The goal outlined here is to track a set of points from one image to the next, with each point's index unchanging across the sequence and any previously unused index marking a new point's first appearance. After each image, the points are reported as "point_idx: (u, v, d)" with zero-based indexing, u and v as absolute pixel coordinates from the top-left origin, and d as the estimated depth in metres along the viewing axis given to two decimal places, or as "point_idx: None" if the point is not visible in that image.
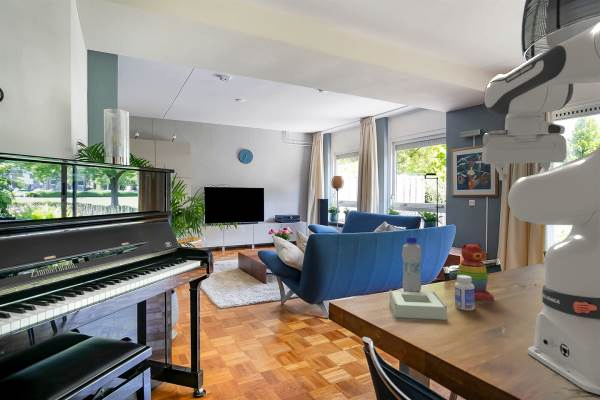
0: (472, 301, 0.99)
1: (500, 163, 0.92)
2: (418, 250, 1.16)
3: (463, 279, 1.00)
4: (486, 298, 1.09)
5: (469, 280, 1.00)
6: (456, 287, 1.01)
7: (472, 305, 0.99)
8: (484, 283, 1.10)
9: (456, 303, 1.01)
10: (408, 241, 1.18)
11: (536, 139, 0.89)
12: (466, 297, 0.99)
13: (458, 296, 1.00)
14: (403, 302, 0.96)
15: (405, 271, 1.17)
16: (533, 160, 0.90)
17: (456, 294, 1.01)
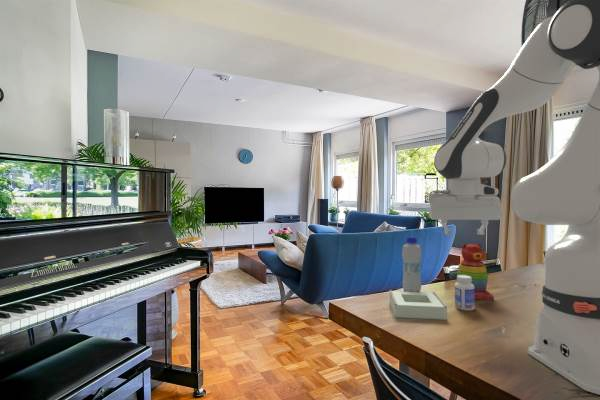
0: (472, 301, 0.99)
1: (444, 219, 1.01)
2: (418, 250, 1.16)
3: (463, 279, 1.00)
4: (486, 298, 1.09)
5: (469, 280, 1.00)
6: (456, 287, 1.01)
7: (472, 305, 0.99)
8: (484, 283, 1.10)
9: (456, 303, 1.01)
10: (408, 241, 1.18)
11: (474, 199, 0.99)
12: (466, 297, 0.99)
13: (458, 296, 1.00)
14: (403, 302, 0.96)
15: (405, 271, 1.17)
16: (473, 217, 0.99)
17: (456, 294, 1.01)
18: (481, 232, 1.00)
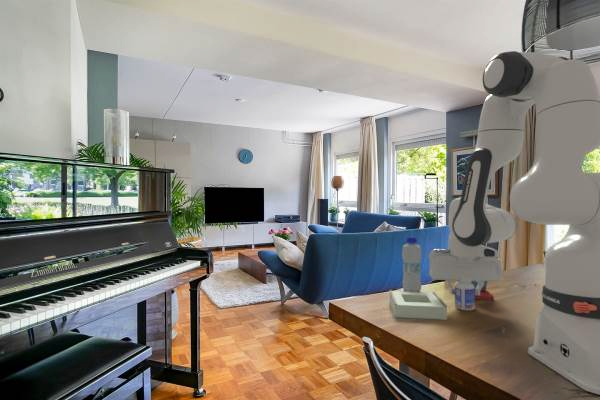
0: (472, 301, 0.99)
1: (444, 279, 1.01)
2: (418, 250, 1.16)
3: (463, 279, 1.00)
4: (486, 298, 1.09)
5: (469, 280, 1.00)
6: (456, 287, 1.01)
7: (472, 305, 0.99)
8: (484, 283, 1.10)
9: (456, 303, 1.01)
10: (408, 241, 1.18)
11: (474, 260, 0.99)
12: (466, 297, 0.99)
13: (458, 296, 1.00)
14: (403, 302, 0.96)
15: (405, 271, 1.17)
16: (473, 278, 0.99)
17: (456, 294, 1.01)
18: (477, 292, 1.00)
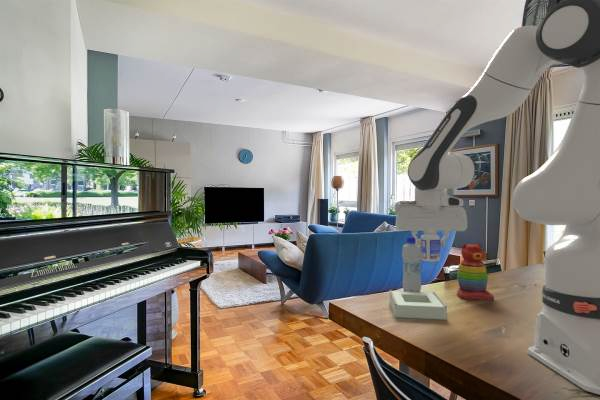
0: (437, 252, 0.98)
1: (409, 230, 1.00)
2: (418, 250, 1.16)
3: (428, 230, 0.99)
4: (486, 298, 1.09)
5: (434, 231, 0.99)
6: (422, 238, 1.00)
7: (437, 256, 0.98)
8: (484, 283, 1.10)
9: (422, 255, 1.00)
10: (408, 241, 1.18)
11: (439, 210, 0.98)
12: (431, 248, 0.98)
13: (423, 248, 0.99)
14: (403, 302, 0.96)
15: (405, 271, 1.17)
16: (438, 228, 0.98)
17: (422, 246, 1.00)
18: (442, 243, 0.99)
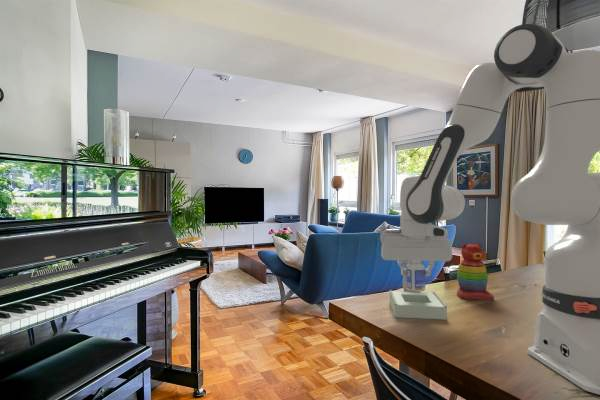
0: (422, 282, 0.98)
1: None
2: None
3: (413, 260, 0.98)
4: (486, 298, 1.09)
5: (419, 261, 0.98)
6: (407, 268, 1.00)
7: (422, 286, 0.98)
8: (484, 283, 1.10)
9: (407, 284, 1.00)
10: None
11: (424, 240, 0.97)
12: (416, 278, 0.97)
13: (408, 277, 0.99)
14: (403, 302, 0.96)
15: None
16: (423, 258, 0.98)
17: (407, 275, 1.00)
18: (427, 273, 0.99)
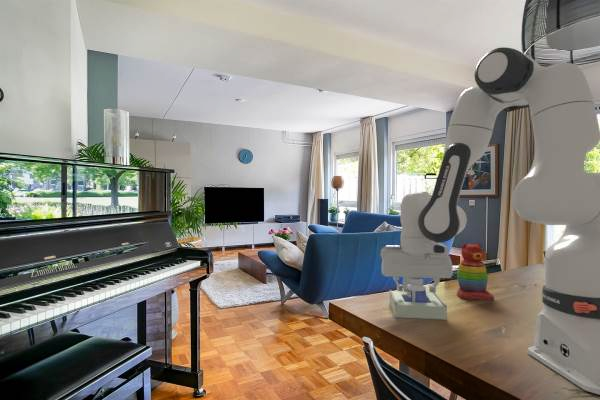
0: None
1: (395, 276, 0.99)
2: None
3: (414, 281, 0.98)
4: (486, 298, 1.09)
5: (420, 282, 0.98)
6: (407, 289, 0.99)
7: None
8: (484, 283, 1.10)
9: None
10: None
11: (425, 256, 0.97)
12: (417, 299, 0.97)
13: (409, 298, 0.99)
14: (403, 302, 0.96)
15: None
16: (424, 275, 0.98)
17: (408, 296, 1.00)
18: (433, 290, 0.98)
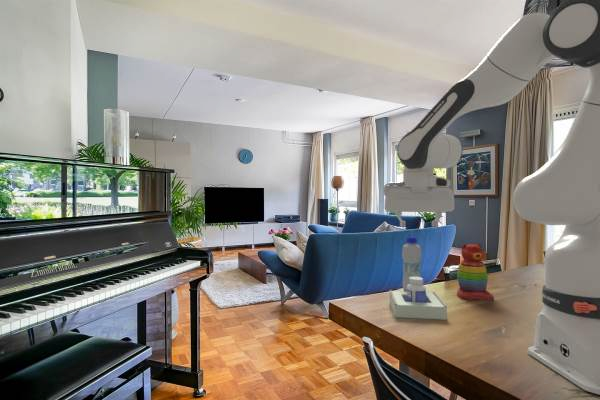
0: None
1: (398, 211, 1.01)
2: (418, 250, 1.16)
3: (414, 281, 0.98)
4: (486, 298, 1.09)
5: (420, 282, 0.98)
6: (407, 289, 1.00)
7: None
8: (484, 283, 1.10)
9: None
10: (408, 241, 1.18)
11: (427, 190, 0.99)
12: (417, 299, 0.97)
13: (409, 298, 0.99)
14: (403, 302, 0.96)
15: (405, 271, 1.17)
16: (426, 209, 1.00)
17: (408, 296, 1.00)
18: (435, 224, 1.00)
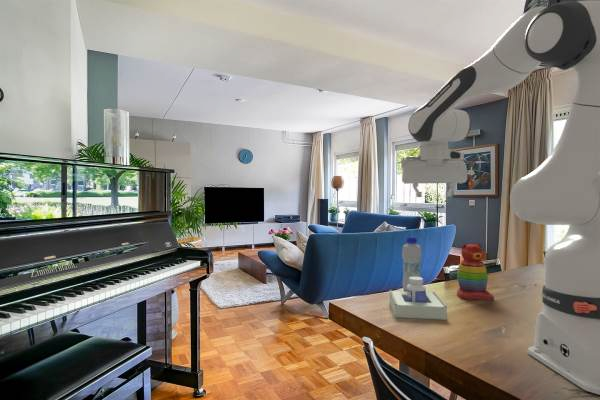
0: None
1: (415, 183, 1.10)
2: (418, 250, 1.16)
3: (414, 281, 0.98)
4: (486, 298, 1.09)
5: (420, 282, 0.98)
6: (407, 289, 0.99)
7: None
8: (484, 283, 1.10)
9: None
10: (408, 241, 1.18)
11: (442, 163, 1.08)
12: (417, 299, 0.97)
13: (409, 298, 0.99)
14: (403, 302, 0.96)
15: (405, 271, 1.17)
16: (441, 180, 1.08)
17: (407, 296, 1.00)
18: (449, 194, 1.09)
